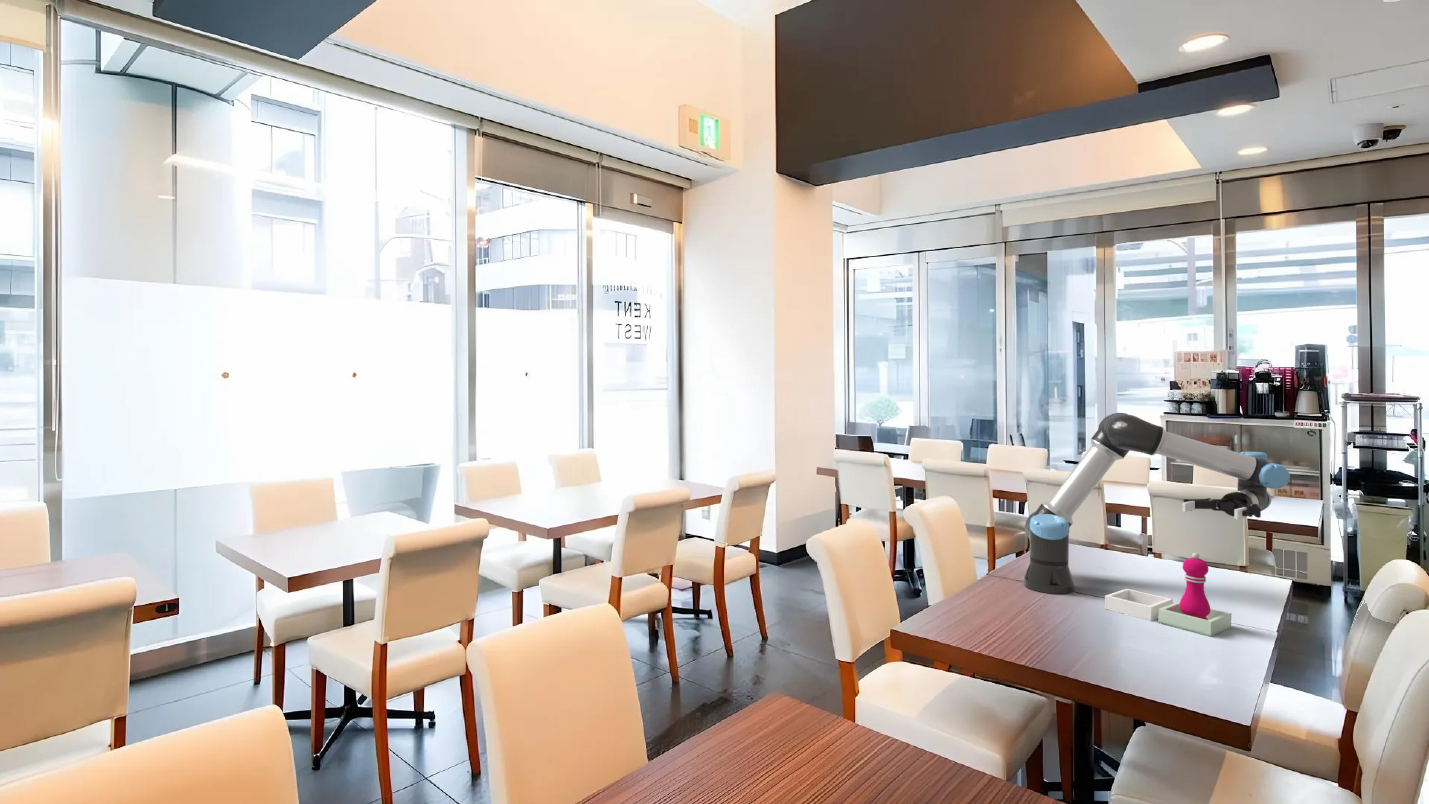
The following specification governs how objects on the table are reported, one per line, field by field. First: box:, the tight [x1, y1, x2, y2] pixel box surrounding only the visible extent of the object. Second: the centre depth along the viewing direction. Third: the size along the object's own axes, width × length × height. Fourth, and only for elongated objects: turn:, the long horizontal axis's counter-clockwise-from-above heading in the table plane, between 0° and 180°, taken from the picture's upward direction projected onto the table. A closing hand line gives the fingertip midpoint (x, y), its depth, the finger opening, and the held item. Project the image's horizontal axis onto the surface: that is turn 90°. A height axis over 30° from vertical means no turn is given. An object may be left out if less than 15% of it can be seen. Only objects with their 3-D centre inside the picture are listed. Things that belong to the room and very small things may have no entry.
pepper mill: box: [1179, 552, 1211, 620], centre depth 197 cm, size 7×7×20 cm
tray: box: [1157, 600, 1232, 637], centre depth 197 cm, size 13×13×4 cm
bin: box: [1104, 588, 1173, 622], centre depth 210 cm, size 13×13×4 cm
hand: (1209, 510), depth 209 cm, fingers open, 13 cm apart
